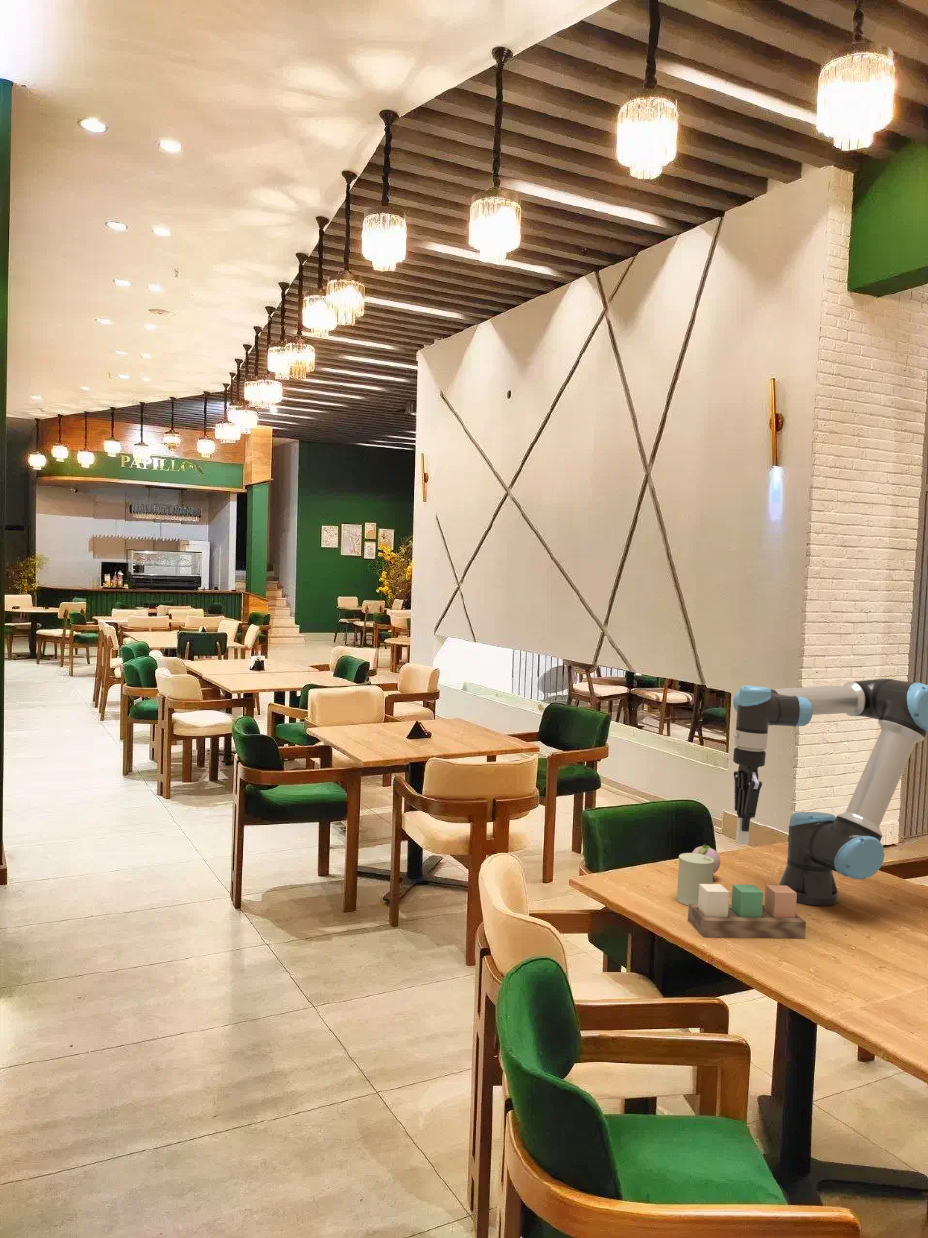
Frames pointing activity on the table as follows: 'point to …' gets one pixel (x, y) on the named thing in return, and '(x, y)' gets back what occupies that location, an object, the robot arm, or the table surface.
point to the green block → (747, 901)
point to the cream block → (713, 900)
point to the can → (693, 876)
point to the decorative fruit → (711, 853)
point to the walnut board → (746, 925)
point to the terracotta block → (780, 901)
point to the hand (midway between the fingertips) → (741, 843)
